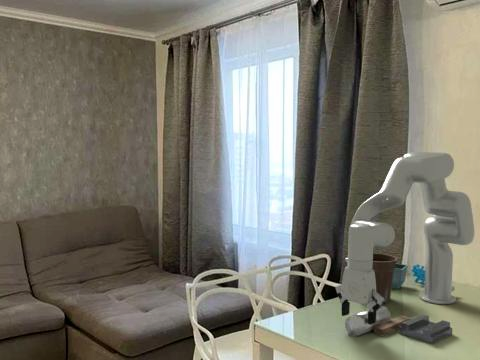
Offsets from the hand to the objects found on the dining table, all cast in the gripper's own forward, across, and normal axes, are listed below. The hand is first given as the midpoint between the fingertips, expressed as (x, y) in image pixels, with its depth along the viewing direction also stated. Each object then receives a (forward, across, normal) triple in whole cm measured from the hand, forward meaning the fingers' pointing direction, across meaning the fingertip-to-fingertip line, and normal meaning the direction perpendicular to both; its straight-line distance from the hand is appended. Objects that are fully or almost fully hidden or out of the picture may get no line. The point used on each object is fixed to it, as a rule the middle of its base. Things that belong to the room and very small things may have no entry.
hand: (358, 319), depth 155 cm
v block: (+4, +14, +15) cm, 21 cm away
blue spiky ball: (+4, -16, +68) cm, 70 cm away
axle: (+4, 0, +5) cm, 6 cm away
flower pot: (+4, -21, +53) cm, 58 cm away
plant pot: (+4, -17, +33) cm, 38 cm away
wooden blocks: (+4, 0, +11) cm, 12 cm away
